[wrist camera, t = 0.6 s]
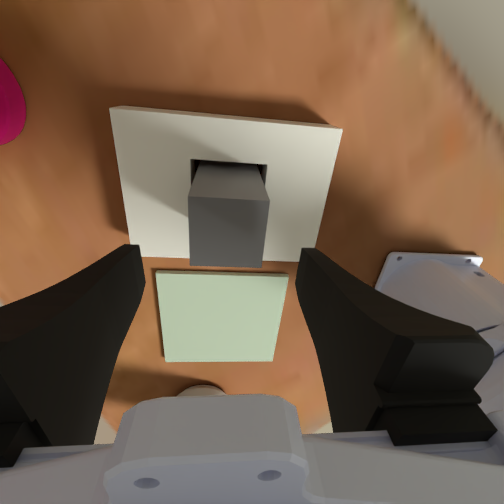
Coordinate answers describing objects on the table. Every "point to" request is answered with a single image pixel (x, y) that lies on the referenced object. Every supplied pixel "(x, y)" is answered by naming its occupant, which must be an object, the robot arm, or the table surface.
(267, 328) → the mat
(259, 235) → the plug
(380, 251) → the table surface
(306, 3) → the table surface
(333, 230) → the table surface
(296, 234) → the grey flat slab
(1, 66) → the pepper mill
